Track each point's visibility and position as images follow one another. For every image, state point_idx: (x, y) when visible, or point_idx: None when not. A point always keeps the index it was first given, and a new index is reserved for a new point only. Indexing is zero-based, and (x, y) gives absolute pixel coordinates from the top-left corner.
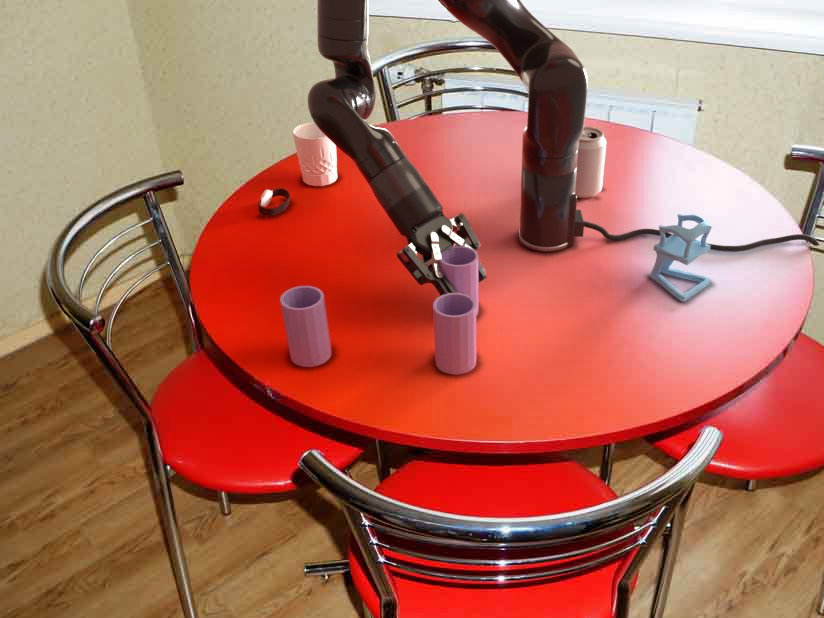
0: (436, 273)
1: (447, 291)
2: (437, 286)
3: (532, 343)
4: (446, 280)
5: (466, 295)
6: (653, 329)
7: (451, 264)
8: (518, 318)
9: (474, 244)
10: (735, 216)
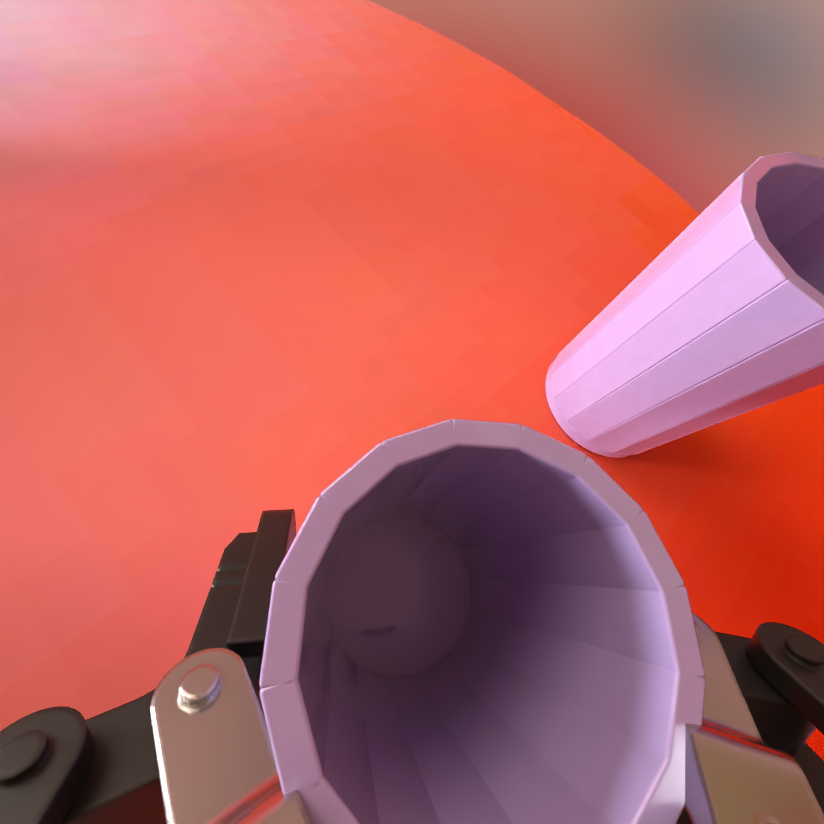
0: (713, 643)
1: None
2: None
3: (378, 280)
4: None
5: (759, 231)
6: (103, 73)
7: (649, 562)
8: (290, 380)
9: (65, 770)
10: None
